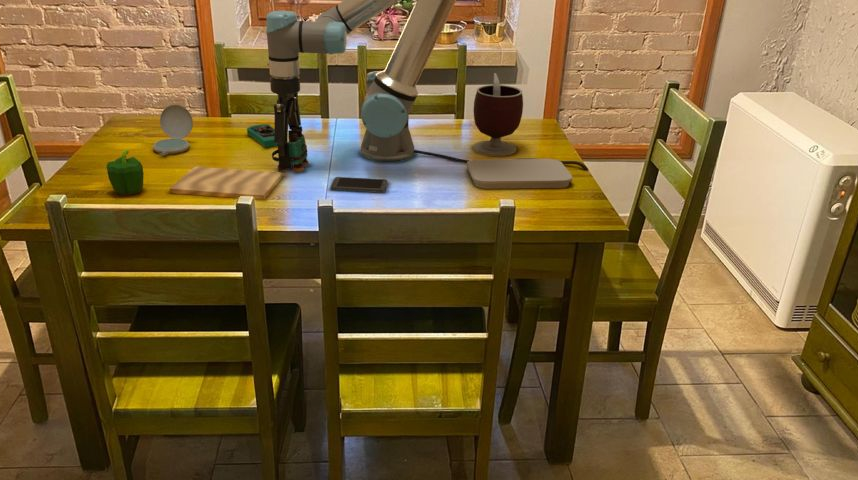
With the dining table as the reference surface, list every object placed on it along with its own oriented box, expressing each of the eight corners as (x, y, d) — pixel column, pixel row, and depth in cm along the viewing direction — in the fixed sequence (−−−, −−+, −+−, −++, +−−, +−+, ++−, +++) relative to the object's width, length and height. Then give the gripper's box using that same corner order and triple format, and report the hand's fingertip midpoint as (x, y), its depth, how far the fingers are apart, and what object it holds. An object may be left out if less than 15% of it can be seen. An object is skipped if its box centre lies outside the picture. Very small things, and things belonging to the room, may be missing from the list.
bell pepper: (131, 200, 177) (124, 160, 172) (104, 194, 179) (96, 155, 175) (154, 188, 184) (148, 150, 179) (128, 183, 186) (121, 145, 181)
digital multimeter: (269, 131, 225) (268, 122, 224) (288, 145, 214) (288, 135, 213) (246, 135, 222) (245, 125, 221) (265, 149, 211) (264, 139, 210)
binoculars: (274, 125, 198) (309, 125, 196) (280, 163, 203) (314, 162, 201) (262, 135, 191) (298, 135, 189) (268, 174, 196) (304, 174, 193)
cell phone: (335, 179, 191) (334, 176, 190) (388, 182, 190) (388, 179, 189) (329, 189, 184) (329, 187, 184) (384, 192, 183) (384, 189, 183)
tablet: (464, 167, 201) (465, 159, 200) (557, 166, 203) (558, 158, 202) (474, 189, 187) (474, 181, 186) (574, 188, 189) (575, 180, 188)
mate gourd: (523, 156, 209) (530, 86, 199) (474, 157, 208) (479, 86, 199) (512, 139, 223) (518, 73, 213) (467, 139, 222) (471, 72, 212)
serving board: (282, 176, 192) (282, 172, 192) (264, 200, 178) (263, 195, 178) (195, 170, 195) (194, 166, 194) (170, 193, 181) (169, 188, 181)
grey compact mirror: (193, 104, 211) (175, 120, 197) (197, 141, 216) (180, 158, 203) (159, 103, 211) (138, 118, 198) (164, 140, 216) (145, 157, 203)
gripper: (282, 65, 196) (287, 146, 207) (256, 85, 177) (263, 173, 188) (310, 67, 196) (313, 147, 206) (286, 87, 176) (292, 175, 187)
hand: (289, 160), depth 197 cm, fingers open, 9 cm apart
